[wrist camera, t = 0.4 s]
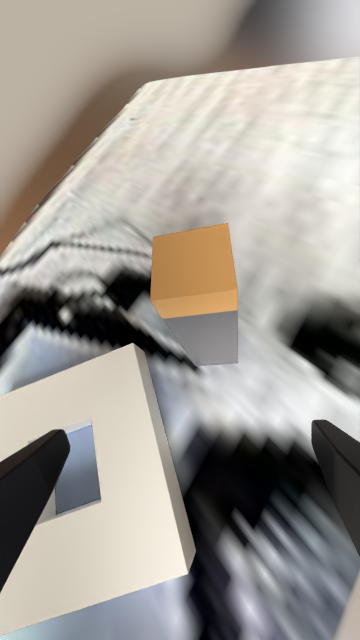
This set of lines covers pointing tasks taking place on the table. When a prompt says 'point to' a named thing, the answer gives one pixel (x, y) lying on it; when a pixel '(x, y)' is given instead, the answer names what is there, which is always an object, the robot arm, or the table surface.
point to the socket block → (115, 488)
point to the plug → (198, 292)
